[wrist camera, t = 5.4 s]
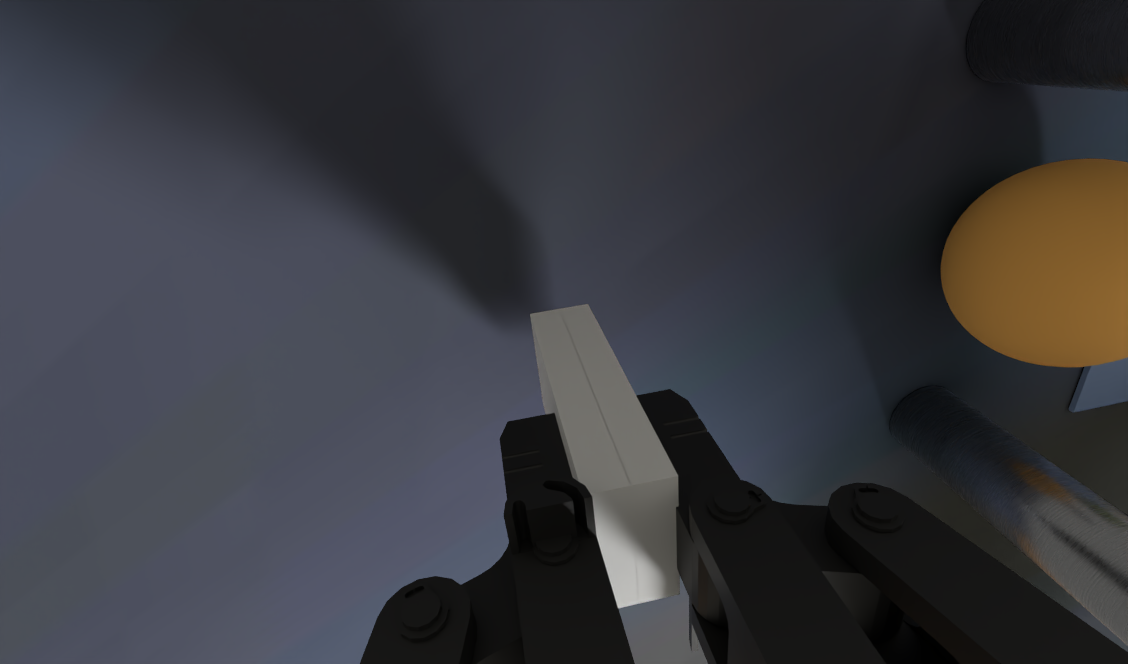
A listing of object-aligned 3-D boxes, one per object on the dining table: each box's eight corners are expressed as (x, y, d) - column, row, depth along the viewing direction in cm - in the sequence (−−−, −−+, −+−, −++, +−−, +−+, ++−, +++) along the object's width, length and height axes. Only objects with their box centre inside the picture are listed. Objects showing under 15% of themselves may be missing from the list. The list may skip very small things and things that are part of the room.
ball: (1185, 346, 16) (1129, 440, 13) (967, 291, 20) (889, 355, 17) (1286, 147, 13) (1240, 215, 11) (1011, 129, 17) (926, 174, 15)
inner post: (945, 435, 22) (1230, 662, 14) (884, 448, 21) (1139, 687, 13) (959, 380, 20) (1281, 593, 13) (895, 392, 20) (1182, 618, 12)
